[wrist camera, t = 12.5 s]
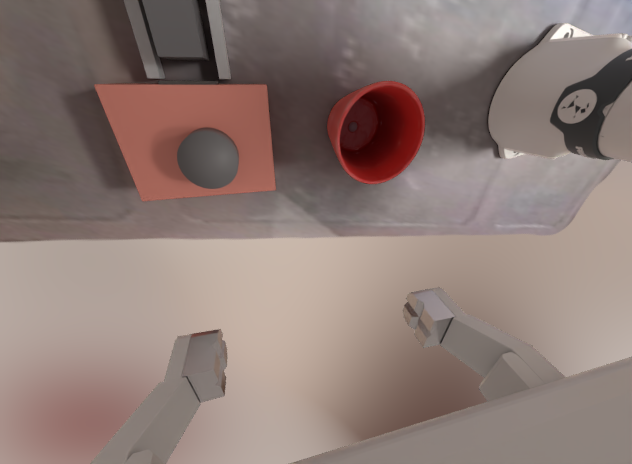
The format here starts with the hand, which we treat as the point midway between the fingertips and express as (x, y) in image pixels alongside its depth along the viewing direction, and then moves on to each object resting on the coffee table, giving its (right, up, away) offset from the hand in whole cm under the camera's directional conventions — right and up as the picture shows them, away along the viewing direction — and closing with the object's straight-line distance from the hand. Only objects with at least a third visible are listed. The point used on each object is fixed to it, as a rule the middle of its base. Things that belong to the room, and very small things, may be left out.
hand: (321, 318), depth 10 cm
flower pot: (+5, +19, +25) cm, 32 cm away
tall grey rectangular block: (-14, +26, +15) cm, 33 cm away
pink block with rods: (-14, +20, +18) cm, 31 cm away
